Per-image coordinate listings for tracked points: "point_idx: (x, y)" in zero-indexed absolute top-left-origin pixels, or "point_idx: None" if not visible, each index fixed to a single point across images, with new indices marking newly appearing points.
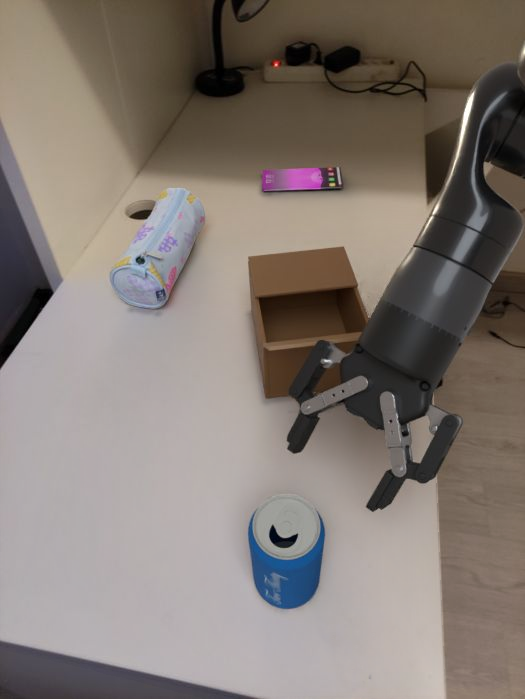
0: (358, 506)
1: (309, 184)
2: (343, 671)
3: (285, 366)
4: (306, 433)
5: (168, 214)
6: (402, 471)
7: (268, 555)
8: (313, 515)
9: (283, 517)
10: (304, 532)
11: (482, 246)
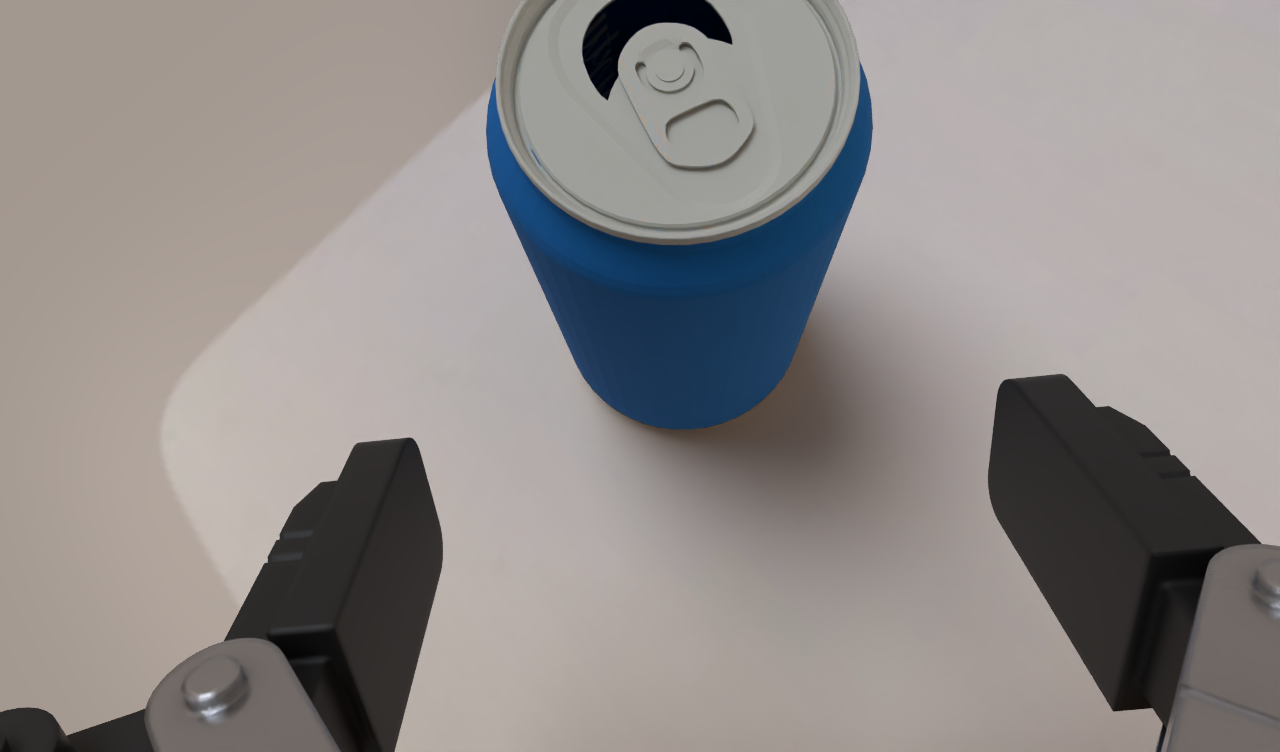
0: (682, 730)
1: None
2: (371, 263)
3: None
4: (1064, 518)
5: None
6: (179, 692)
7: None
8: (615, 216)
9: (720, 96)
10: (583, 120)
11: None
